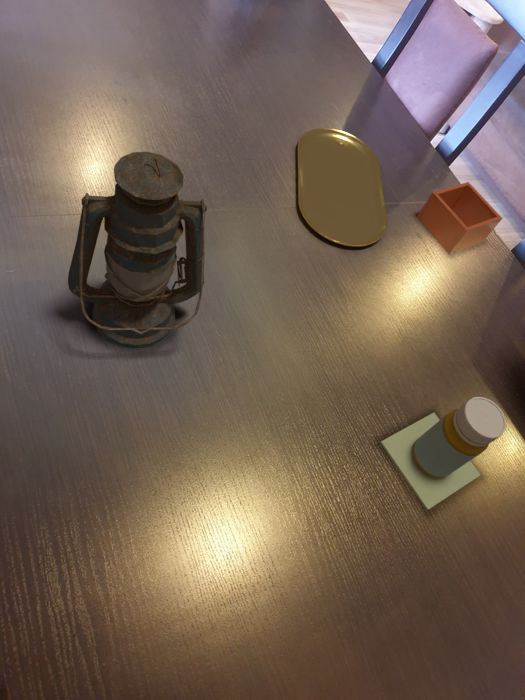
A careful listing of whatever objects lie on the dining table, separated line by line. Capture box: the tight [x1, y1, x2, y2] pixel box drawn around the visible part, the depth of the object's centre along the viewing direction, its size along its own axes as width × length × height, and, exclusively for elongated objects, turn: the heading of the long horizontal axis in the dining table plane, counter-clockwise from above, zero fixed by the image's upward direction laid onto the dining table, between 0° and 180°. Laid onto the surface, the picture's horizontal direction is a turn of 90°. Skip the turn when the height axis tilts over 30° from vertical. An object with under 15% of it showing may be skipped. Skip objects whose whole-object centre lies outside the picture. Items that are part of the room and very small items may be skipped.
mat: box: [379, 412, 481, 512], centre depth 89 cm, size 12×12×1 cm
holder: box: [416, 181, 503, 255], centre depth 118 cm, size 11×11×7 cm
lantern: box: [67, 151, 208, 350], centre depth 77 cm, size 19×14×30 cm
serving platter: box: [297, 127, 388, 248], centre depth 118 cm, size 19×35×2 cm, turn 179°
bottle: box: [413, 396, 507, 478], centre depth 82 cm, size 7×7×15 cm
